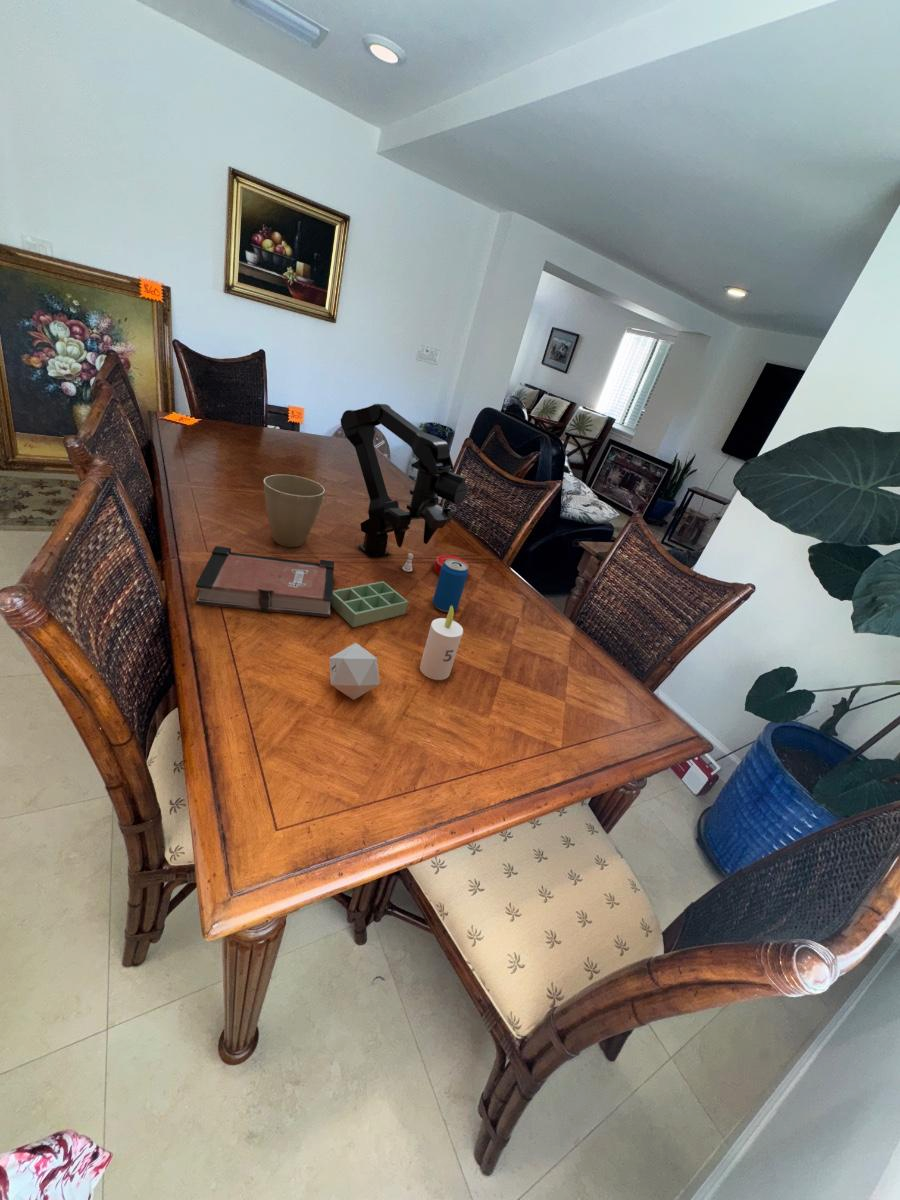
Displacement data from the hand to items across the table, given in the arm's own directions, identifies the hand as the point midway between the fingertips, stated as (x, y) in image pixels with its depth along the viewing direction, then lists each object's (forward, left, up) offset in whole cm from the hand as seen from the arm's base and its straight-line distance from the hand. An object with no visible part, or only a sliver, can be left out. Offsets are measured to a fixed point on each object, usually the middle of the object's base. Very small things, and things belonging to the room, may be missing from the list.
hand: (412, 545), depth 129 cm
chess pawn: (0, 0, -8) cm, 8 cm away
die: (+34, -40, -8) cm, 53 cm away
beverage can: (+19, -3, -8) cm, 21 cm away
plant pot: (-23, -23, -8) cm, 33 cm away
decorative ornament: (+5, +12, -8) cm, 15 cm away
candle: (+37, -22, -8) cm, 44 cm away
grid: (+13, -22, -7) cm, 27 cm away
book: (-1, -39, -8) cm, 40 cm away
